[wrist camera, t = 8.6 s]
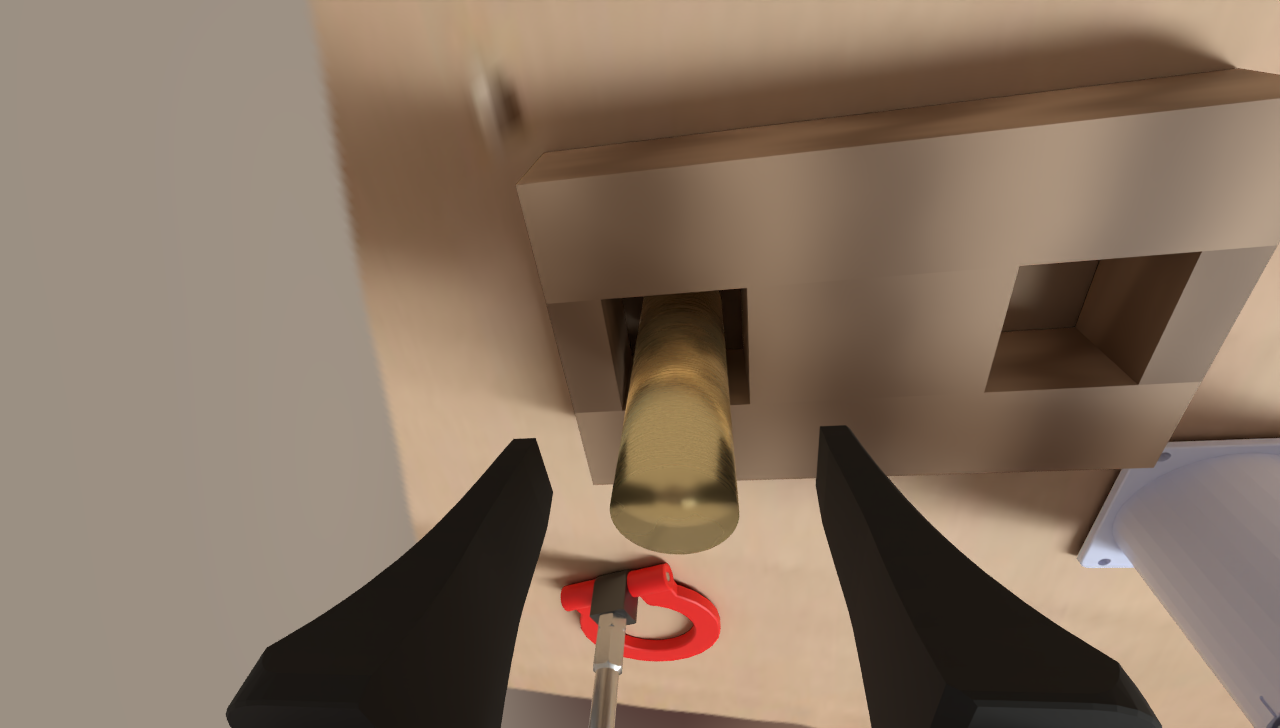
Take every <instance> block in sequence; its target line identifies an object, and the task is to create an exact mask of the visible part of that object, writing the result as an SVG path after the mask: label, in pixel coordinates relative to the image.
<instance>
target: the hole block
mask: <svg viewBox="0 0 1280 728" xmlns="http://www.w3.org/2000/svg"><path fill="white" fill-rule="evenodd" d="M516 189H517V193H518V197H519V201H520V204H521V208H522V212H523V216H524V220H525V224H526V228H527V231H528V235H529V239H530V243H531V247H532V251H533V254H534V258H535V262H536V266H537V270H538V274H539V278H540V281H541V285H542V289H543V293H544V297H545V301H546V304H547V308H548V312H549V316H550V320H551V324H552V328H553V331H554V335H555V339H556V343H557V347H558V351H559V354H560V358H561V362H562V366H563V370H564V374H565V378H566V381H567V385H568V389H569V393H570V397H571V401H572V404H573V408H574V412H575V416H576V420H577V424H578V427H579V431H580V435H581V439H582V443H583V447H584V451H585V454H586V458H587V462H588V466H589V470H590V474H591V477H592V481H593V485H606V484H614V478H615V472H616V466H617V460H618V453H619V447H620V441H621V435H622V429H623V423H624V416H625V410H626V404H627V398H628V392H629V385H630V379H631V373H632V367H633V361H634V356H632V355H631V350H630V344H629V338H628V332H627V326H626V320H625V314H624V309H623V303H622V298H627V297H639V296H652V295H664V294H677V293H689V292H702V291H714V290H727V289H739V288H741V302H742V334H743V349H731V350H726V361H727V373H728V385H729V397H730V409H731V421H732V433H733V445H734V456H735V468H736V480H770V479H803V478H816V475H817V460H818V446H819V431H820V426H838V425H846V426H848V427H849V428H850V429H851V430H852V432H853V433H854V435H855V436H856V438H857V439H858V440H859V442H860V443H861V444H862V446H863V447H864V448H865V450H866V451H867V452H868V454H869V455H870V456H871V458H872V459H873V460H874V461H875V463H876V464H877V465H878V466H879V468H880V469H881V470H882V471H883V472H884V474H885V475H886V476H902V475H935V474H968V473H1000V472H1033V471H1066V470H1099V469H1132V468H1154V466H1155V465H1156V463H1157V461H1158V459H1159V457H1160V456H1161V454H1162V452H1163V450H1164V448H1165V447H1166V445H1167V443H1168V441H1169V439H1170V438H1171V436H1172V434H1173V432H1174V431H1175V429H1176V427H1177V425H1178V423H1179V422H1180V420H1181V418H1182V416H1183V414H1184V413H1185V411H1186V409H1187V407H1188V405H1189V404H1190V402H1191V400H1192V398H1193V396H1194V395H1195V393H1196V391H1197V389H1198V387H1199V386H1200V384H1201V382H1202V380H1203V378H1204V377H1205V375H1206V373H1207V371H1208V369H1209V368H1210V366H1211V364H1212V362H1213V361H1214V359H1215V357H1216V355H1217V353H1218V352H1219V350H1220V348H1221V346H1222V344H1223V343H1224V341H1225V339H1226V337H1227V335H1228V334H1229V332H1230V330H1231V328H1232V326H1233V325H1234V323H1235V321H1236V319H1237V317H1238V316H1239V314H1240V312H1241V310H1242V308H1243V307H1244V305H1245V303H1246V301H1247V299H1248V298H1249V296H1250V294H1251V292H1252V290H1253V289H1254V287H1255V285H1256V283H1257V282H1258V280H1259V278H1260V276H1261V274H1262V273H1263V271H1264V269H1265V267H1266V265H1267V264H1268V262H1269V260H1270V258H1271V256H1272V255H1273V253H1274V251H1275V249H1276V247H1277V246H1278V244H1279V242H1280V75H1277V74H1271V73H1265V72H1259V71H1253V70H1246V69H1240V68H1236V69H1228V70H1220V71H1212V72H1204V73H1195V74H1187V75H1179V76H1171V77H1162V78H1154V79H1146V80H1138V81H1130V82H1121V83H1113V84H1105V85H1097V86H1088V87H1080V88H1072V89H1064V90H1056V91H1047V92H1039V93H1031V94H1023V95H1014V96H1006V97H998V98H990V99H982V100H973V101H965V102H957V103H949V104H940V105H932V106H924V107H916V108H908V109H899V110H891V111H883V112H875V113H866V114H858V115H850V116H842V117H834V118H825V119H817V120H809V121H801V122H792V123H784V124H776V125H768V126H760V127H751V128H743V129H735V130H727V131H718V132H710V133H702V134H694V135H686V136H677V137H669V138H661V139H653V140H644V141H636V142H628V143H620V144H612V145H603V146H595V147H587V148H579V149H570V150H562V151H554V152H546V153H543V154H542V156H541V157H540V158H539V159H538V160H537V161H536V162H535V164H534V165H533V166H532V167H531V168H530V169H529V170H528V171H527V173H526V174H525V175H524V176H523V177H522V178H521V179H520V181H519V182H518V183H517V184H516ZM1088 260H1100V261H1099V264H1098V267H1097V269H1096V272H1095V275H1094V278H1093V280H1092V283H1091V286H1090V288H1089V291H1088V294H1087V297H1086V299H1085V302H1084V305H1083V307H1082V310H1081V313H1080V316H1079V318H1078V321H1077V324H1076V326H1075V327H1072V328H1056V329H1041V330H1025V331H1010V332H1001V330H1002V327H1003V323H1004V320H1005V316H1006V313H1007V309H1008V306H1009V302H1010V298H1011V295H1012V291H1013V288H1014V284H1015V281H1016V277H1017V273H1018V270H1019V266H1026V265H1038V264H1051V263H1063V262H1076V261H1088Z"/></svg>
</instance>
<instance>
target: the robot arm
mask: <svg viewBox="0 0 1280 728" xmlns="http://www.w3.org/2000/svg"><path fill="white" fill-rule="evenodd" d="M816 489H817V495H818V501H819V507H820V513H821V518H822V524H823V527H824V530H825V534H826V537H827V541H828V544H829V547H830V551H831V554H832V558H833V561H834V564H835V568H836V571H837V574H838V578H839V581H840V584H841V587H842V591H843V594H844V597H845V601H846V604H847V607H848V611H849V615H850V619H851V623H852V627H853V632H854V637H855V642H856V647H857V652H858V657H859V662H860V667H861V672H862V678H863V683H864V688H865V694H866V699H867V704H868V710H869V715H870V721H871V727H872V728H1162V725H1161V724H1160V722H1159V720H1158V719H1157V717H1156V716H1155V714H1154V712H1153V711H1152V709H1151V708H1150V706H1149V704H1148V703H1147V701H1146V700H1145V698H1144V697H1143V695H1142V694H1141V692H1140V691H1139V689H1138V688H1137V687H1136V685H1135V684H1134V683H1133V681H1132V680H1131V679H1130V678H1129V676H1128V675H1127V674H1126V672H1125V671H1124V670H1123V668H1122V667H1121V665H1120V664H1119V663H1118V662H1117V661H1115V660H1113V659H1112V658H1110V657H1109V656H1107V655H1105V654H1104V653H1102V652H1100V651H1099V650H1097V649H1096V648H1094V647H1092V646H1091V645H1089V644H1087V643H1086V642H1084V641H1083V640H1081V639H1079V638H1078V637H1076V636H1075V635H1073V634H1071V633H1070V632H1068V631H1066V630H1065V629H1063V628H1062V627H1060V626H1059V625H1057V624H1056V623H1054V622H1053V621H1051V620H1050V619H1048V618H1047V617H1045V616H1044V615H1042V614H1041V613H1039V612H1038V611H1037V610H1035V609H1034V608H1032V607H1031V606H1029V605H1028V604H1026V603H1025V602H1024V601H1022V600H1021V599H1020V598H1018V597H1017V596H1016V595H1014V594H1013V593H1012V592H1010V591H1009V590H1008V589H1006V588H1005V587H1004V586H1002V585H1001V584H1000V583H999V582H997V581H996V580H995V579H993V578H992V577H991V576H989V575H988V574H987V573H985V572H984V571H983V570H982V569H981V568H979V567H978V566H977V565H976V564H975V563H973V562H972V561H971V560H970V559H969V558H967V557H966V556H965V555H964V554H963V553H962V552H960V551H959V550H958V549H957V548H956V547H955V546H954V545H953V544H952V543H950V542H949V541H948V540H947V539H946V538H945V537H944V536H943V535H942V534H941V533H940V532H939V531H938V530H936V529H935V528H934V527H933V526H932V525H931V524H930V523H929V522H928V521H927V520H926V519H925V518H924V517H923V516H922V515H921V513H920V512H919V511H918V510H917V509H916V508H915V507H914V506H913V505H912V504H911V503H910V502H909V501H908V500H907V499H906V498H905V497H904V495H903V494H902V493H901V492H900V491H899V490H898V489H897V488H896V486H895V485H894V484H893V483H892V482H891V481H890V479H889V478H888V477H887V476H886V475H885V474H884V472H883V471H882V470H881V469H880V468H879V466H878V465H877V464H876V463H875V461H874V460H873V459H872V458H871V456H870V455H869V454H868V452H867V451H866V450H865V448H864V447H863V446H862V444H861V443H860V442H859V440H858V439H857V438H856V436H855V435H854V433H853V432H852V430H851V429H850V428H849V427H848V426H846V425H838V426H820V431H819V446H818V460H817V475H816ZM552 495H553V490H552V487H551V484H550V481H549V478H548V475H547V472H546V469H545V466H544V463H543V459H542V456H541V453H540V450H539V447H538V444H537V441H536V438H527V439H513V440H512V441H511V443H510V444H509V445H508V446H507V447H506V448H505V449H504V451H503V452H502V453H501V454H500V455H499V456H498V457H497V459H496V460H495V461H494V462H493V463H492V465H491V466H490V467H489V468H488V469H487V470H486V472H485V473H484V474H483V475H482V476H481V477H480V478H479V480H478V481H477V482H476V483H475V484H474V485H473V486H472V487H471V489H470V490H469V491H468V492H467V493H466V494H465V495H464V496H463V498H462V499H461V500H460V501H459V502H458V503H457V504H456V505H455V506H454V507H453V508H452V509H451V510H450V511H449V512H448V513H447V514H446V515H445V516H444V517H443V518H442V520H441V521H440V522H439V523H438V524H437V525H436V526H435V527H434V528H433V529H432V530H430V531H429V532H428V533H427V534H426V535H425V536H424V537H423V538H422V539H421V540H420V541H419V542H417V543H416V544H415V545H414V546H413V547H412V548H411V549H409V551H407V552H406V553H405V554H404V555H403V556H401V557H400V558H399V559H398V560H397V561H395V562H394V563H393V564H392V565H390V566H389V567H388V568H386V569H385V570H384V571H383V572H381V573H380V574H379V575H378V576H376V577H375V578H374V579H372V580H371V581H370V582H368V583H367V584H366V585H365V586H363V587H362V588H360V589H359V590H358V591H356V592H355V593H353V594H352V595H351V596H349V597H348V598H346V599H345V600H343V601H342V602H340V603H339V604H338V605H336V606H334V607H333V608H332V609H330V610H328V611H327V612H326V613H324V614H322V615H321V616H319V617H318V618H316V619H315V620H313V621H311V622H310V623H308V624H306V625H305V626H303V627H301V628H300V629H298V630H296V631H294V632H293V633H291V634H289V635H288V636H286V637H285V638H283V639H281V640H279V641H278V642H276V643H274V644H272V645H271V646H269V647H267V648H266V650H265V651H264V653H263V654H262V655H261V657H260V659H259V660H258V662H257V663H256V665H255V666H254V668H253V669H252V671H251V673H250V674H249V676H248V677H247V679H246V680H245V682H244V683H243V685H242V686H241V688H240V689H239V691H238V693H237V694H236V696H235V697H234V699H233V700H232V702H231V703H230V705H229V706H228V708H227V712H226V717H227V720H228V723H229V725H230V727H231V728H501V722H502V715H503V708H504V702H505V696H506V690H507V685H508V679H509V673H510V668H511V662H512V657H513V652H514V647H515V642H516V637H517V631H518V626H519V622H520V618H521V614H522V611H523V607H524V603H525V600H526V597H527V594H528V590H529V587H530V584H531V580H532V577H533V574H534V571H535V567H536V564H537V561H538V557H539V554H540V551H541V547H542V544H543V541H544V537H545V534H546V530H547V526H548V520H549V515H550V508H551V502H552ZM1077 559H1078V561H1079V562H1080V564H1081V565H1082V566H1083V567H1087V568H1135V569H1136V570H1137V572H1138V573H1139V574H1140V576H1141V577H1142V578H1143V580H1144V581H1145V582H1146V584H1147V585H1148V586H1149V588H1150V589H1151V590H1152V592H1153V593H1154V594H1155V596H1156V597H1157V598H1158V600H1159V601H1160V602H1161V604H1162V605H1163V606H1164V608H1165V609H1166V610H1167V612H1168V613H1169V614H1170V616H1171V617H1172V618H1173V620H1174V621H1175V622H1176V624H1177V625H1178V626H1179V628H1180V629H1181V630H1182V632H1183V633H1184V634H1185V636H1186V637H1187V638H1188V640H1189V641H1190V642H1191V644H1192V645H1193V646H1194V648H1195V649H1196V650H1197V652H1198V653H1199V654H1200V656H1201V657H1202V658H1203V660H1204V661H1205V662H1206V664H1207V665H1208V666H1209V668H1210V669H1211V670H1212V672H1213V673H1214V674H1215V676H1216V677H1217V678H1218V680H1219V681H1220V683H1221V684H1222V685H1223V687H1224V688H1225V689H1226V691H1227V692H1228V693H1229V695H1230V696H1231V697H1232V699H1233V700H1234V701H1235V703H1236V704H1237V705H1238V707H1239V708H1240V709H1241V711H1242V712H1243V713H1244V715H1245V716H1246V717H1247V719H1248V720H1249V721H1250V723H1251V724H1252V725H1253V727H1254V728H1280V438H1265V439H1238V440H1210V441H1183V442H1168V443H1167V445H1166V447H1165V448H1164V450H1163V452H1162V454H1161V456H1160V457H1159V459H1158V461H1157V463H1156V465H1155V466H1154V468H1132V469H1122V470H1121V471H1120V473H1119V475H1118V477H1117V479H1116V481H1115V483H1114V485H1113V487H1112V489H1111V491H1110V493H1109V495H1108V497H1107V499H1106V501H1105V503H1104V505H1103V507H1102V509H1101V511H1100V513H1099V514H1098V516H1097V518H1096V520H1095V522H1094V524H1093V526H1092V528H1091V530H1090V532H1089V534H1088V536H1087V538H1086V540H1085V542H1084V544H1083V546H1082V548H1081V550H1080V552H1079V554H1078V556H1077Z"/></svg>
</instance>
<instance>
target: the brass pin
mask: <svg viewBox="0 0 1280 728" xmlns="http://www.w3.org/2000/svg"><path fill="white" fill-rule="evenodd" d="M610 514H611V518H612V521H613V523H614V525H615V526H616V528H617V529H618V530H619V532H620V533H621V534H622V535H624V536H625V537H626V538H627V539H629V540H630V541H631V542H633V543H635V544H637V545H639V546H641V547H643V548H646V549H649V550H651V551H655V552H660V553H666V554H691V553H697V552H701V551H705V550H708V549H710V548H713V547H715V546H717V545H719V544H720V543H722V542H723V541H725V540H726V539H727V538H728V537H729V536H730V535H731V534H732V533H733V531H734V530H735V528H736V526H737V524H738V520H739V504H738V492H737V480H736V468H735V456H734V445H733V433H732V421H731V409H730V397H729V385H728V373H727V361H726V349H725V337H724V325H723V313H722V301H721V296H720V293H719V291H718V290H714V291H702V292H689V293H677V294H664V295H652V296H644V299H643V305H642V311H641V317H640V323H639V330H638V336H637V342H636V348H635V354H634V361H633V367H632V373H631V379H630V385H629V392H628V398H627V404H626V410H625V416H624V423H623V429H622V435H621V441H620V447H619V453H618V460H617V466H616V472H615V478H614V484H613V491H612V497H611V503H610Z"/></svg>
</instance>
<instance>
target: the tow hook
mask: <svg viewBox="0 0 1280 728" xmlns="http://www.w3.org/2000/svg"><path fill="white" fill-rule="evenodd" d="M639 596H640V597H641V598H642V599H643V600H644V601H645V602H646V603H647V604H649V605H652V606H660V607H665V608H669V609H672V610H675V611H678V612H680V613H682V614H683V615H685V616H687V617H688V618H689V619H690V620H691V621H692V622H693V624H694V626H693V627H692V628H691V630H689V631H688V632H687V633H685V634H683V635H681V636H678V637H675V638H670V639H663V640H649V639H641V638H636V637H632V636H629V635H626V634H625V630H626V625H630V624H635V623H636V619H637V605H638V597H639ZM561 603H562V606H563V608H564V609H565V610H566V611H572V610H577V611H578V612H579V613H580V614H581V615H580V624H581V629H582V631H583V632H584V634H585V635H586V637H587V638H588V639H590V640H591V641H592V642H593V643H594V644H596V648H595V656H594V664H593V671H594V672H595V680H594V689H593V697H592V705H591V713H590V722H589V728H614V725H615V714H616V703H617V691H618V680H619V675H620V674H622V665H623V657H626V658H631V659H636V660H644V661H674V660H679V659H684V658H689V657H692V656H694V655H697V654H700V653H702V652H704V651H705V650H707V649H708V648H710V647H711V646H713V644H714V643H715V642H716V640H717V639H718V638H719V634H720V629H721V628H720V617H719V614H718V611H717V609H716V608H715V606H714V605H713V604H712V603H711V602H710V601H709V600H708V599H706V598H705V597H703V596H702V595H700V594H699V593H697V592H696V591H693V590H691V589H688V588H685V587H683V586H680V585H677V584H676V583H675V581H674V579H673V574H672V571H671V568H670V566H669V565H668V564H667V563H665V564H660V565H656V566H651V567H647V568H643V569H638V570H634V571H631V570H625V571H620V572H616V573H612V574H607V575H603V576H599V577H597V578H596V579H594V580H590V581H585V582H581V583H576V584H572V585H568V586H564V587H563V588H562V591H561Z"/></svg>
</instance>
